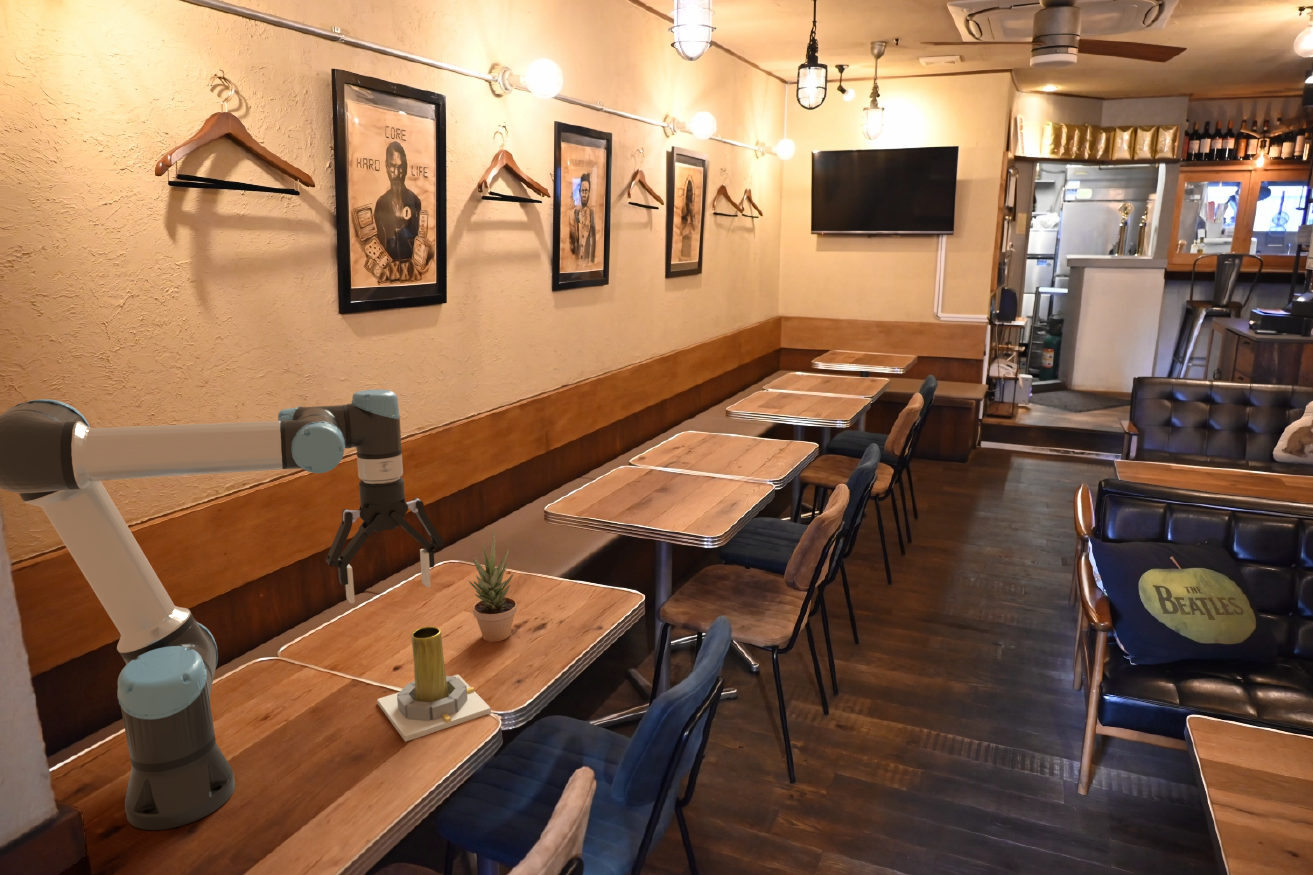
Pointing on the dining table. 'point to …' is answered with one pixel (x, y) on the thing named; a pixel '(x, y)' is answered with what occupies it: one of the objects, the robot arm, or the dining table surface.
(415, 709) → the socket
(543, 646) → the dining table surface
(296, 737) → the dining table surface
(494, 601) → the potted plant
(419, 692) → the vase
